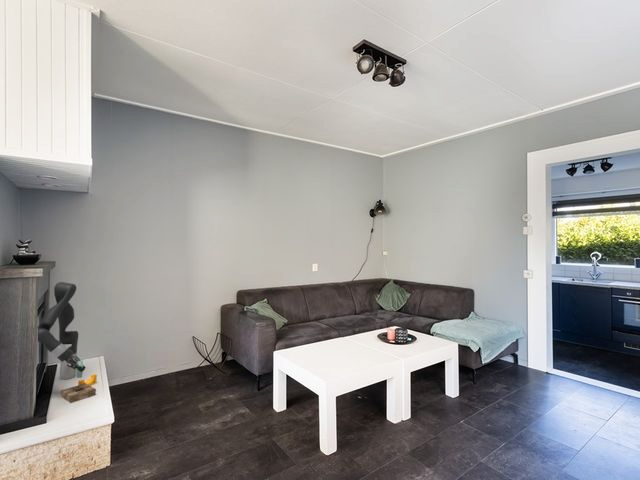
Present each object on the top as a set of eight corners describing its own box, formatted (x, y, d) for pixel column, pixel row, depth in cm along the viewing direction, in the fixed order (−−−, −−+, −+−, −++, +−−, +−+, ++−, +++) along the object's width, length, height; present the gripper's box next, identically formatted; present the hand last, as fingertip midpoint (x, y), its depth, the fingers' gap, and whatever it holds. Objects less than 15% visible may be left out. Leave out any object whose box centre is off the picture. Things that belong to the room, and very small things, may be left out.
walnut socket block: (60, 396, 215) (61, 390, 215) (85, 389, 227) (85, 383, 227) (70, 403, 208) (71, 396, 208) (95, 395, 220) (95, 389, 220)
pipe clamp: (90, 382, 238) (91, 373, 238) (96, 383, 237) (96, 374, 237) (75, 389, 226) (76, 380, 226) (81, 390, 225) (81, 381, 225)
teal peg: (75, 377, 217) (76, 361, 217) (80, 375, 220) (81, 360, 220) (77, 378, 216) (78, 362, 216) (83, 376, 218) (84, 361, 218)
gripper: (63, 351, 209) (86, 369, 213) (70, 344, 221) (91, 361, 226) (52, 360, 206) (75, 378, 211) (60, 353, 219) (81, 370, 224)
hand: (83, 369), depth 219 cm, fingers closed on teal peg, 3 cm apart
